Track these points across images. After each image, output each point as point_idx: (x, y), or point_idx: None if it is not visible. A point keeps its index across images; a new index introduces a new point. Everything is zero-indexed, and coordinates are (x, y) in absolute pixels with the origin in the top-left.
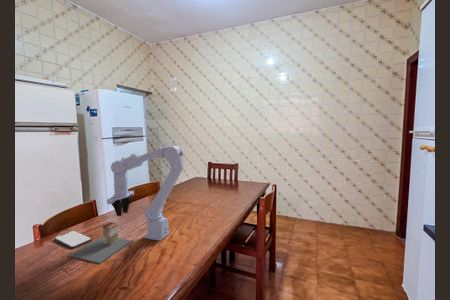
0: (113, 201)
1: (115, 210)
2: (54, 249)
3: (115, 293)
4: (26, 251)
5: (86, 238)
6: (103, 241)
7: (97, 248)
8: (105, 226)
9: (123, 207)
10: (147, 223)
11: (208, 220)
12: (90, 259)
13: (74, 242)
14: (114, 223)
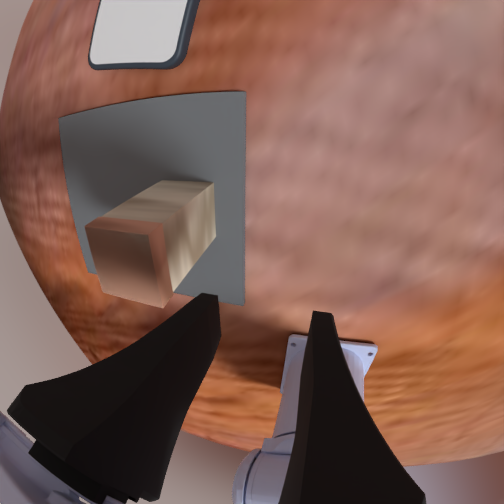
0: (30, 456)
1: (153, 336)
2: (80, 5)
3: (81, 347)
4: None
5: (163, 34)
6: (154, 184)
7: (123, 188)
8: (92, 254)
9: (307, 380)
10: (285, 412)
11: (439, 438)
12: (78, 227)
13: (114, 27)
14: (151, 288)
